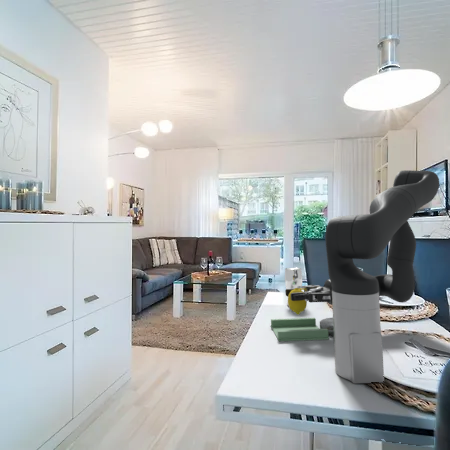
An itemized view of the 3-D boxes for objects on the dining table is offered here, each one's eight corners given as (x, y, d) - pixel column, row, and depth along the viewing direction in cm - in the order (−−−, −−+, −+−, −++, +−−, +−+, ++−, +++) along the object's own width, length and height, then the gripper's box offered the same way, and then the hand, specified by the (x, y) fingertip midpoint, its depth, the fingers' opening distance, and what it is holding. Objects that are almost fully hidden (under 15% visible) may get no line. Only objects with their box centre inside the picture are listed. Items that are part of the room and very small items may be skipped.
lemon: (308, 317, 88) (306, 289, 88) (288, 317, 89) (287, 289, 89) (307, 312, 93) (305, 286, 93) (288, 312, 94) (287, 286, 94)
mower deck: (379, 337, 84) (379, 330, 84) (329, 339, 84) (329, 332, 84) (357, 322, 98) (356, 316, 98) (313, 324, 98) (313, 318, 98)
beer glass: (282, 304, 126) (281, 268, 126) (297, 302, 128) (296, 267, 128) (291, 308, 119) (289, 270, 120) (306, 306, 121) (305, 268, 122)
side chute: (329, 339, 84) (328, 330, 84) (278, 341, 84) (278, 332, 84) (314, 324, 97) (313, 317, 98) (270, 326, 97) (270, 318, 97)
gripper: (332, 275, 99) (281, 278, 98) (353, 282, 85) (294, 286, 84) (333, 298, 99) (282, 301, 98) (355, 309, 85) (296, 313, 84)
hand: (288, 294), depth 91 cm, fingers closed on lemon, 5 cm apart
